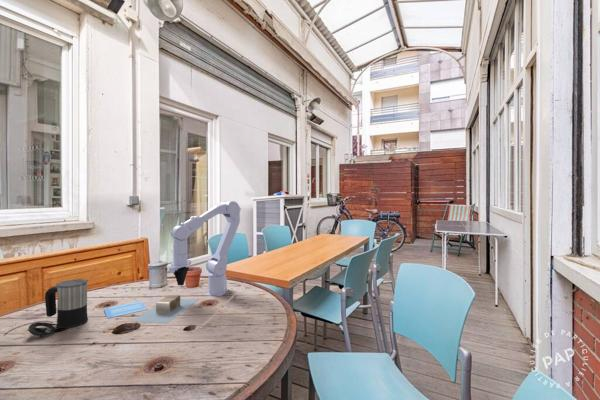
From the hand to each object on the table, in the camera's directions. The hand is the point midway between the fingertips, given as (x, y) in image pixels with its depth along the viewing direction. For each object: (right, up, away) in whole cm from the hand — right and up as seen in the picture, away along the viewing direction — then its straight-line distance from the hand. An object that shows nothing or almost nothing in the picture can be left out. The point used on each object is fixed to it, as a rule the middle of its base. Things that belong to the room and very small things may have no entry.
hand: (180, 284), depth 129 cm
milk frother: (-32, -8, -25) cm, 41 cm away
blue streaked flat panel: (-18, -8, -10) cm, 22 cm away
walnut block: (-1, -5, -5) cm, 7 cm away
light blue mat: (-1, -8, -10) cm, 12 cm away
